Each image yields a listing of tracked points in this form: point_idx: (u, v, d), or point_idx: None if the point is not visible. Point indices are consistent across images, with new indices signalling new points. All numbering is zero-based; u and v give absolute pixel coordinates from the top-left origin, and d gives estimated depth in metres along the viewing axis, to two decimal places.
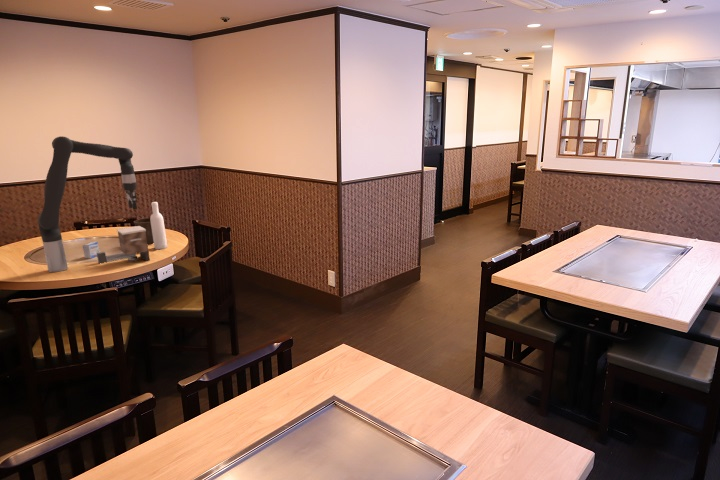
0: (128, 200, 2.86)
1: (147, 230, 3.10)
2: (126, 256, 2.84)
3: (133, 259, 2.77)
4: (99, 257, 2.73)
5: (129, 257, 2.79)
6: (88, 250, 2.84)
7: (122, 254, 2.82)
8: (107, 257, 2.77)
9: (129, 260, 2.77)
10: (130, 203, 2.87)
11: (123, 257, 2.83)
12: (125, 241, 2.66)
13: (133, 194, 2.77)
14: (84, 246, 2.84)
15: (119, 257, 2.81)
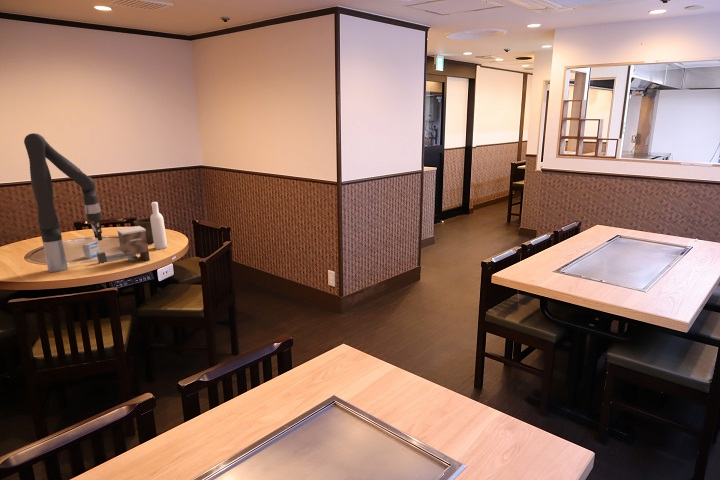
0: (93, 230, 2.74)
1: (147, 230, 3.10)
2: (126, 256, 2.84)
3: (133, 259, 2.77)
4: (99, 257, 2.73)
5: (129, 257, 2.79)
6: (88, 250, 2.84)
7: (122, 254, 2.82)
8: (107, 257, 2.77)
9: (129, 260, 2.77)
10: (96, 233, 2.75)
11: (123, 257, 2.83)
12: (125, 241, 2.66)
13: (97, 225, 2.65)
14: (84, 246, 2.84)
15: (119, 257, 2.81)
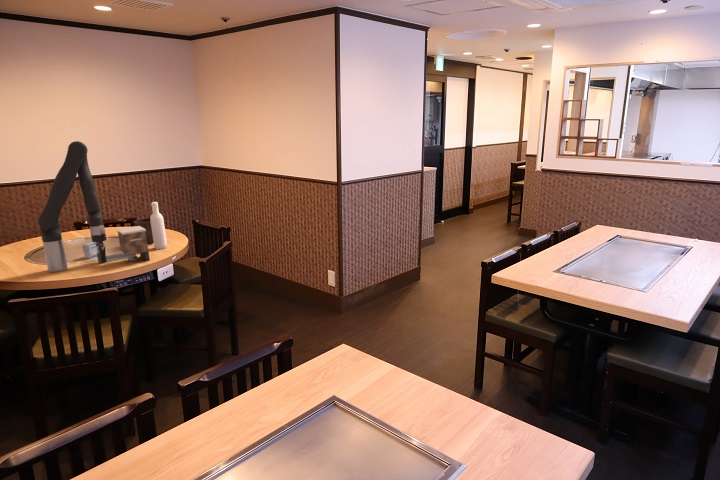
0: None
1: (147, 230, 3.10)
2: (126, 256, 2.83)
3: (133, 259, 2.77)
4: (99, 257, 2.73)
5: (129, 257, 2.79)
6: (88, 250, 2.84)
7: (122, 254, 2.82)
8: (107, 257, 2.77)
9: (129, 260, 2.77)
10: None
11: (123, 257, 2.82)
12: (125, 241, 2.66)
13: (102, 249, 2.69)
14: (84, 246, 2.84)
15: (119, 257, 2.81)
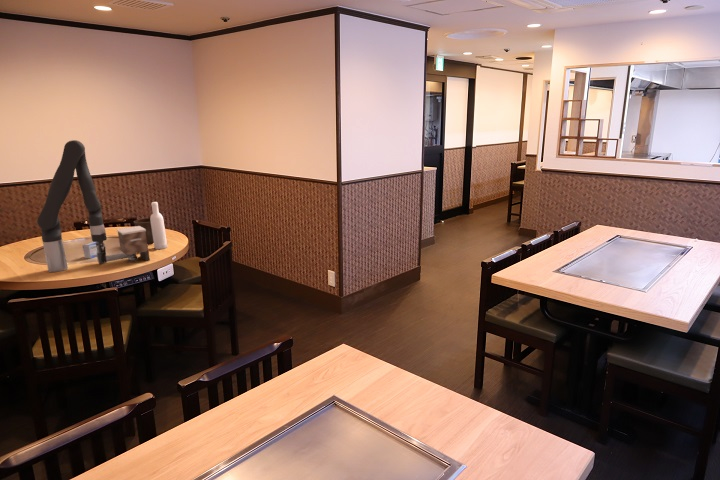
0: None
1: (147, 230, 3.10)
2: (126, 256, 2.81)
3: (132, 259, 2.77)
4: (99, 257, 2.71)
5: (129, 257, 2.79)
6: (88, 250, 2.84)
7: (122, 254, 2.79)
8: (107, 257, 2.74)
9: (129, 260, 2.78)
10: None
11: (123, 257, 2.80)
12: (125, 241, 2.66)
13: (102, 249, 2.67)
14: (84, 246, 2.84)
15: (119, 257, 2.79)
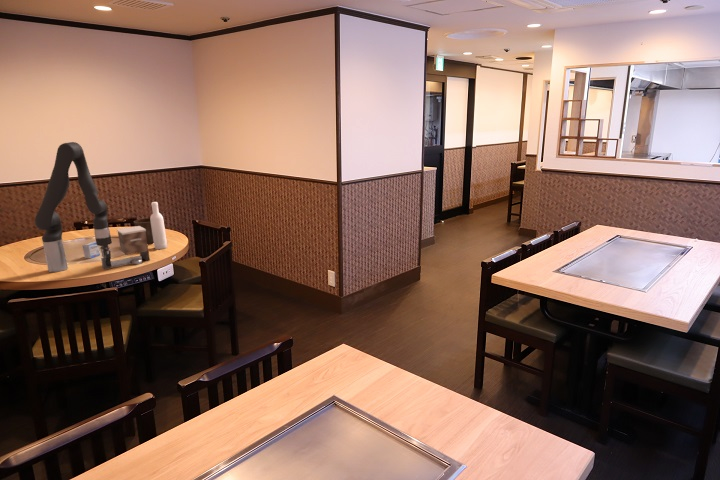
0: (104, 257, 2.64)
1: (147, 230, 3.10)
2: None
3: (136, 263, 2.69)
4: (104, 262, 2.62)
5: (133, 260, 2.71)
6: (88, 250, 2.84)
7: (127, 259, 2.70)
8: (112, 262, 2.65)
9: None
10: None
11: (128, 262, 2.71)
12: (125, 241, 2.66)
13: (107, 253, 2.58)
14: (84, 246, 2.84)
15: (124, 262, 2.70)
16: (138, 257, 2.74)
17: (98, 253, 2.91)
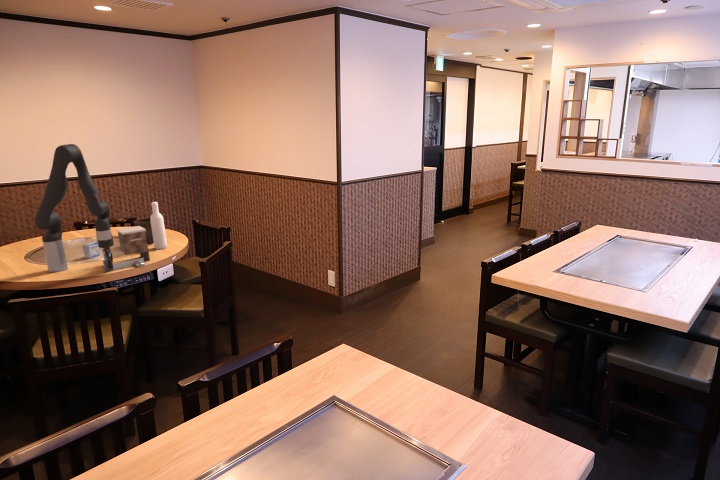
0: None
1: (147, 230, 3.10)
2: (134, 263, 2.67)
3: (139, 265, 2.65)
4: (105, 265, 2.57)
5: (136, 263, 2.66)
6: (88, 250, 2.84)
7: (130, 261, 2.66)
8: (114, 265, 2.61)
9: (135, 266, 2.65)
10: None
11: (131, 264, 2.66)
12: (125, 241, 2.66)
13: (109, 255, 2.53)
14: (84, 246, 2.84)
15: (126, 265, 2.65)
16: (140, 259, 2.69)
17: (98, 253, 2.91)
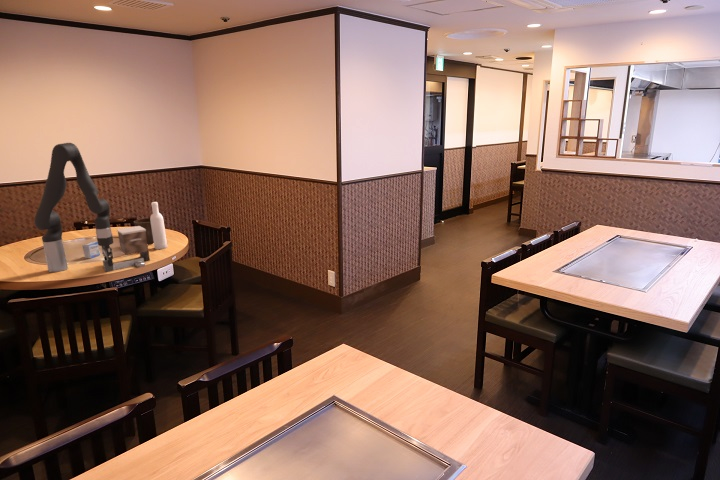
0: (104, 255, 2.61)
1: (147, 230, 3.10)
2: (134, 264, 2.67)
3: (139, 265, 2.64)
4: (105, 265, 2.57)
5: (136, 263, 2.66)
6: (88, 250, 2.84)
7: (129, 262, 2.65)
8: (114, 265, 2.61)
9: (135, 266, 2.65)
10: (106, 258, 2.62)
11: (131, 265, 2.66)
12: (125, 241, 2.66)
13: (108, 250, 2.52)
14: (84, 246, 2.84)
15: (126, 265, 2.65)
16: (140, 259, 2.69)
17: (98, 253, 2.91)
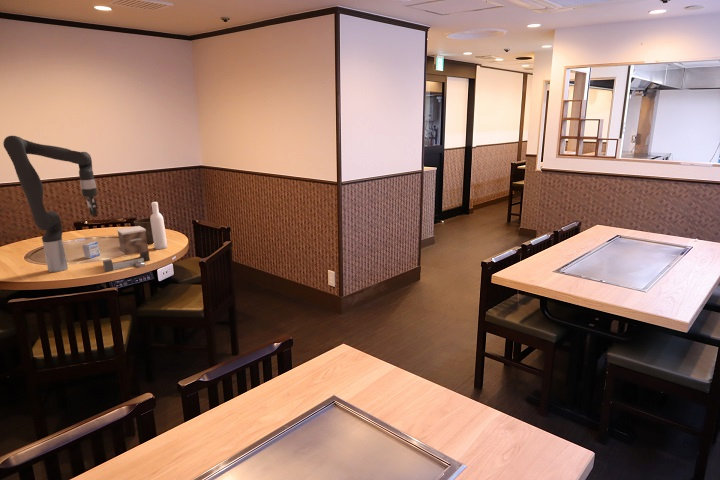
0: (89, 207, 2.71)
1: (147, 230, 3.10)
2: (134, 264, 2.67)
3: (139, 265, 2.64)
4: (105, 265, 2.57)
5: (136, 263, 2.66)
6: (88, 250, 2.84)
7: (129, 262, 2.65)
8: (114, 265, 2.61)
9: (135, 266, 2.65)
10: (91, 210, 2.72)
11: (131, 265, 2.66)
12: (125, 241, 2.66)
13: (92, 201, 2.62)
14: (84, 246, 2.84)
15: (126, 265, 2.65)
16: (140, 259, 2.69)
17: (98, 253, 2.91)
